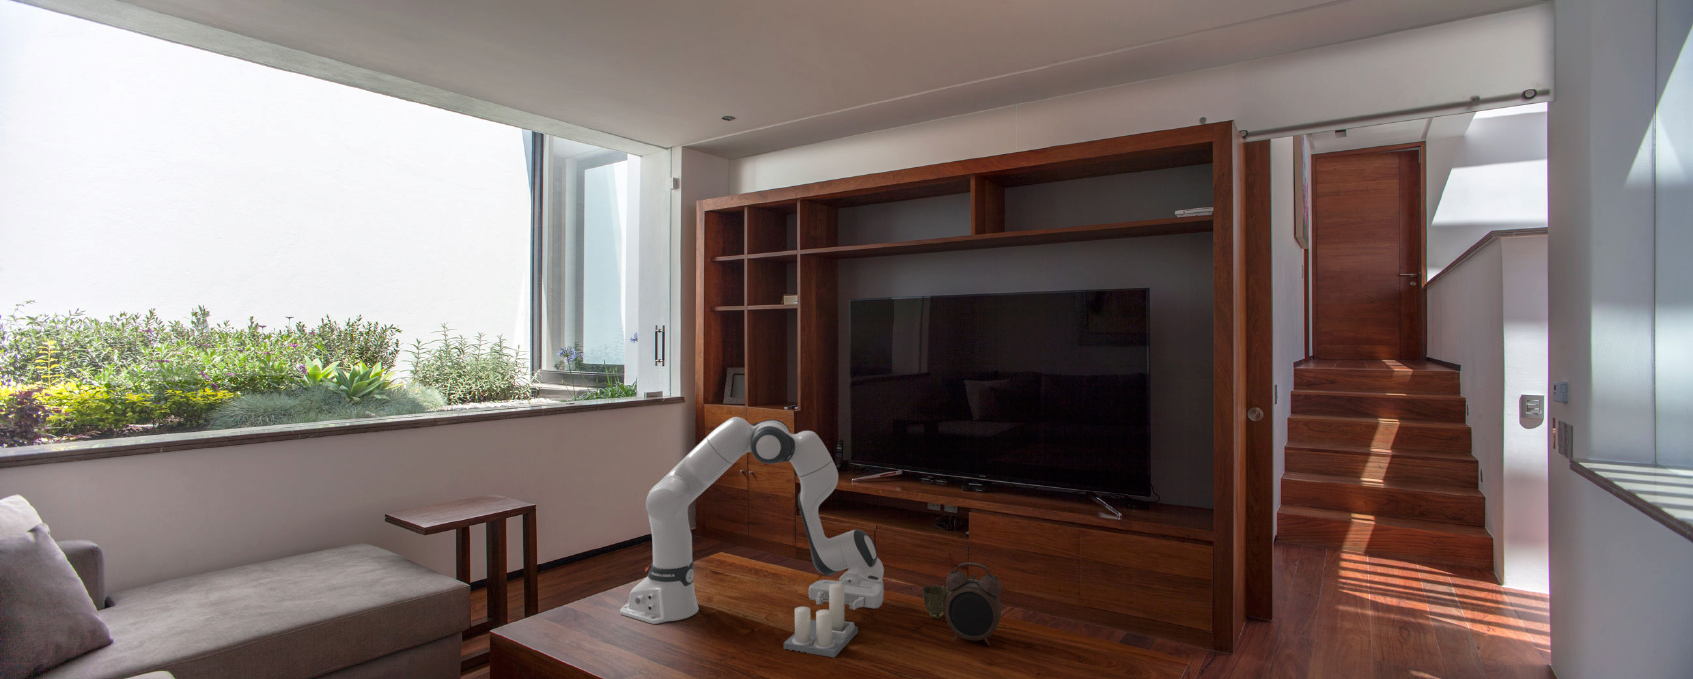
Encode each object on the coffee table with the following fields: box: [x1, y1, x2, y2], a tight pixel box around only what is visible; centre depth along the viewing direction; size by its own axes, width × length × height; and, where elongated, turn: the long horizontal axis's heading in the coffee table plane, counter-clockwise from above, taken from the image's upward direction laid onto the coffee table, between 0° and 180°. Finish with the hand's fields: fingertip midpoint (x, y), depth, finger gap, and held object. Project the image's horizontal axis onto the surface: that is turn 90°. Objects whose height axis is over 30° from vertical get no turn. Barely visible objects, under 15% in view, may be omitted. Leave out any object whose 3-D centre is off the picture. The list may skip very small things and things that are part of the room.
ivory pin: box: [828, 583, 845, 632], centre depth 191 cm, size 4×4×12 cm
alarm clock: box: [943, 562, 1003, 645], centre depth 187 cm, size 15×7×20 cm, turn 71°
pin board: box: [783, 606, 859, 658], centre depth 189 cm, size 14×16×10 cm
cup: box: [922, 584, 950, 620], centre depth 203 cm, size 8×7×8 cm
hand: (834, 604), depth 190 cm, fingers open, 8 cm apart
